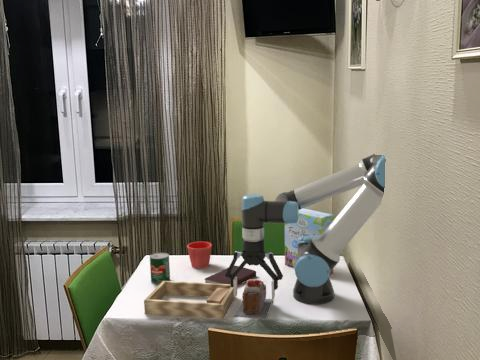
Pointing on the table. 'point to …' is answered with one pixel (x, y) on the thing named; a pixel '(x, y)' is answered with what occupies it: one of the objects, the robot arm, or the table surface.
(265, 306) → the mat
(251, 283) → the food item
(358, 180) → the robot arm
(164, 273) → the canned tomato
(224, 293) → the offcut stack
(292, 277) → the table surface
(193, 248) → the flower pot
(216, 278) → the book
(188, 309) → the tray
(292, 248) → the snack box
